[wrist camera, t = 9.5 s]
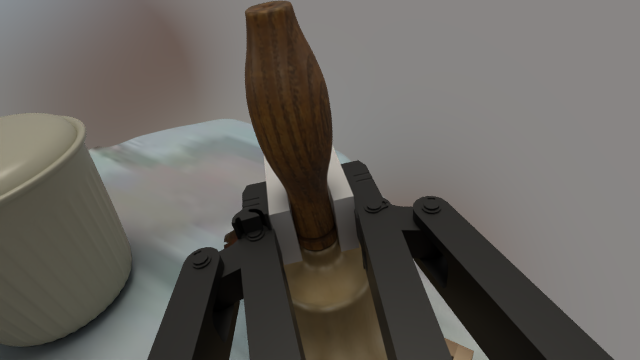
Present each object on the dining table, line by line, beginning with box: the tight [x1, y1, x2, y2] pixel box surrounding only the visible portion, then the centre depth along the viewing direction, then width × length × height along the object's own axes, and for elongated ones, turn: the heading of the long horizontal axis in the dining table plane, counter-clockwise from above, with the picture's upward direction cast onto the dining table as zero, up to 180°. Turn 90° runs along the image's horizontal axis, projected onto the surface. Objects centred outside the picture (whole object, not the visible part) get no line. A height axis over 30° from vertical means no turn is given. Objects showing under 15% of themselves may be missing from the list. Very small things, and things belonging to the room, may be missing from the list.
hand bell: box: [245, 1, 388, 360], centre depth 14 cm, size 8×8×16 cm
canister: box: [0, 113, 132, 347], centre depth 32 cm, size 18×18×21 cm
